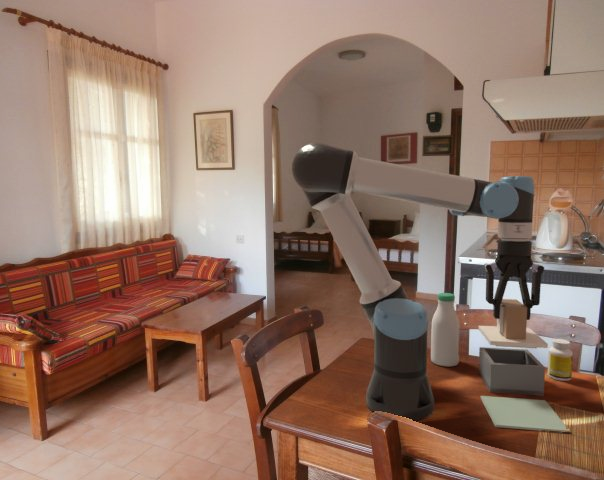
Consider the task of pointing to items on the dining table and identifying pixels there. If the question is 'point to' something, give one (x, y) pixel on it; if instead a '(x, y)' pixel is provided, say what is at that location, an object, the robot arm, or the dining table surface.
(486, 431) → the dining table surface
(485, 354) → the box
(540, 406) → the mat
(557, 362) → the supplement bottle
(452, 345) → the milk bottle
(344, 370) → the dining table surface
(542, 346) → the lid
